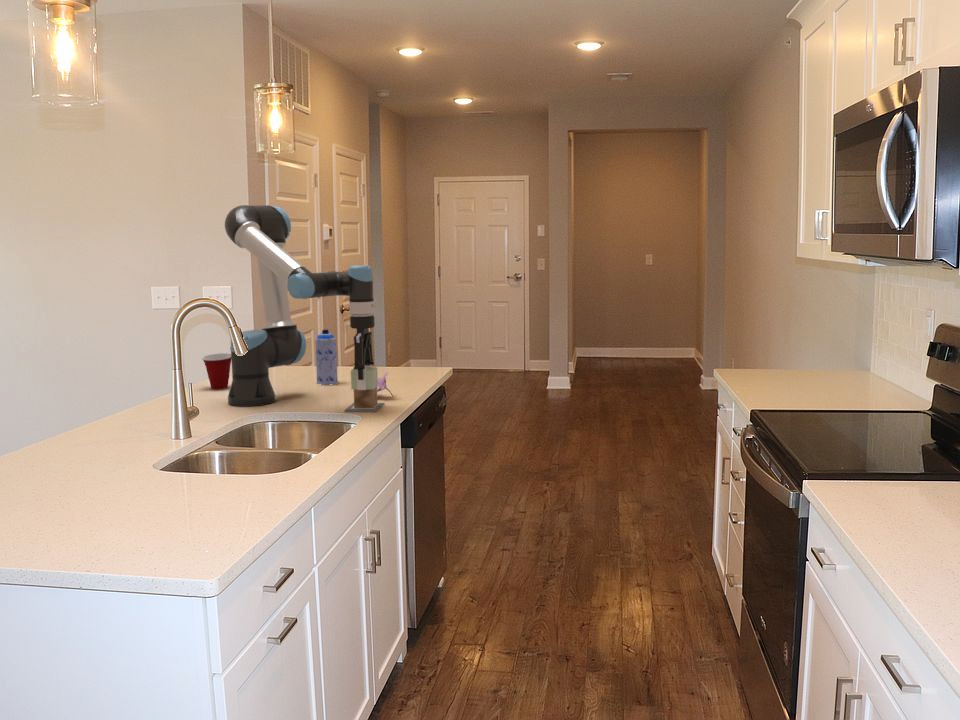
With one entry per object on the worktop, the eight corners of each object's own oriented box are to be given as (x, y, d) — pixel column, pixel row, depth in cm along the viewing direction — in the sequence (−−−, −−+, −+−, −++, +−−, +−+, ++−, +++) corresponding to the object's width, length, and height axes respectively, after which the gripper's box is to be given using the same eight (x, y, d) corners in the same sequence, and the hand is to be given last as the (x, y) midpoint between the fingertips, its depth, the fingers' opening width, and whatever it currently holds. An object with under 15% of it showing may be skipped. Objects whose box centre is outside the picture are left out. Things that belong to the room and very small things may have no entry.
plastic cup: (197, 390, 318) (195, 356, 316) (215, 384, 328) (213, 352, 326) (223, 391, 314) (221, 357, 313) (240, 386, 325) (238, 353, 323)
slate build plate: (344, 411, 276) (344, 409, 276) (354, 404, 287) (354, 402, 287) (376, 412, 274) (376, 410, 274) (384, 404, 286) (384, 402, 286)
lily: (378, 396, 307) (364, 373, 303) (408, 384, 303) (394, 361, 300) (371, 413, 296) (356, 390, 293) (401, 401, 293) (386, 377, 289)
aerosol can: (342, 383, 328) (340, 329, 325) (325, 386, 322) (323, 331, 320) (329, 381, 333) (327, 328, 331) (312, 383, 328) (310, 329, 325)
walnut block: (354, 407, 278) (353, 389, 277) (359, 404, 284) (358, 385, 283) (373, 408, 277) (372, 389, 277) (377, 404, 283) (376, 385, 282)
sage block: (351, 389, 277) (350, 370, 276) (356, 385, 284) (355, 367, 283) (373, 389, 276) (373, 370, 275) (377, 385, 283) (377, 367, 282)
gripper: (366, 318, 266) (369, 393, 270) (380, 312, 286) (383, 382, 289) (341, 318, 267) (345, 393, 270) (358, 312, 287) (360, 382, 290)
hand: (364, 387), depth 280 cm, fingers closed on sage block, 7 cm apart
